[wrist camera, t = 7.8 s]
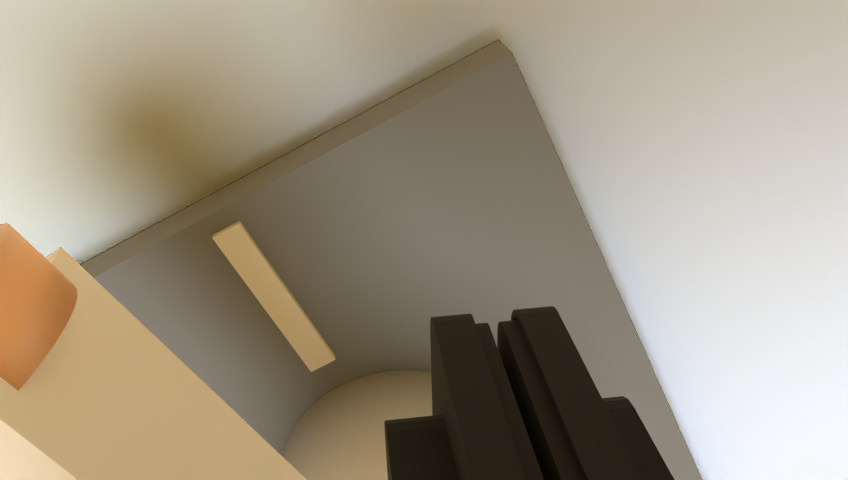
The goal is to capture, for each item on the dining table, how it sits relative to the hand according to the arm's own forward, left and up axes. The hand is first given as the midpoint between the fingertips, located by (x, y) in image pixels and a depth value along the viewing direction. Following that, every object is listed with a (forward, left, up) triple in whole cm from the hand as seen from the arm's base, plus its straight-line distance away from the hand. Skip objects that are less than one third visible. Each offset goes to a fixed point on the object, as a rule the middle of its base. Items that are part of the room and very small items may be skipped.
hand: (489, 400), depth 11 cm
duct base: (+5, +9, -12) cm, 16 cm away
